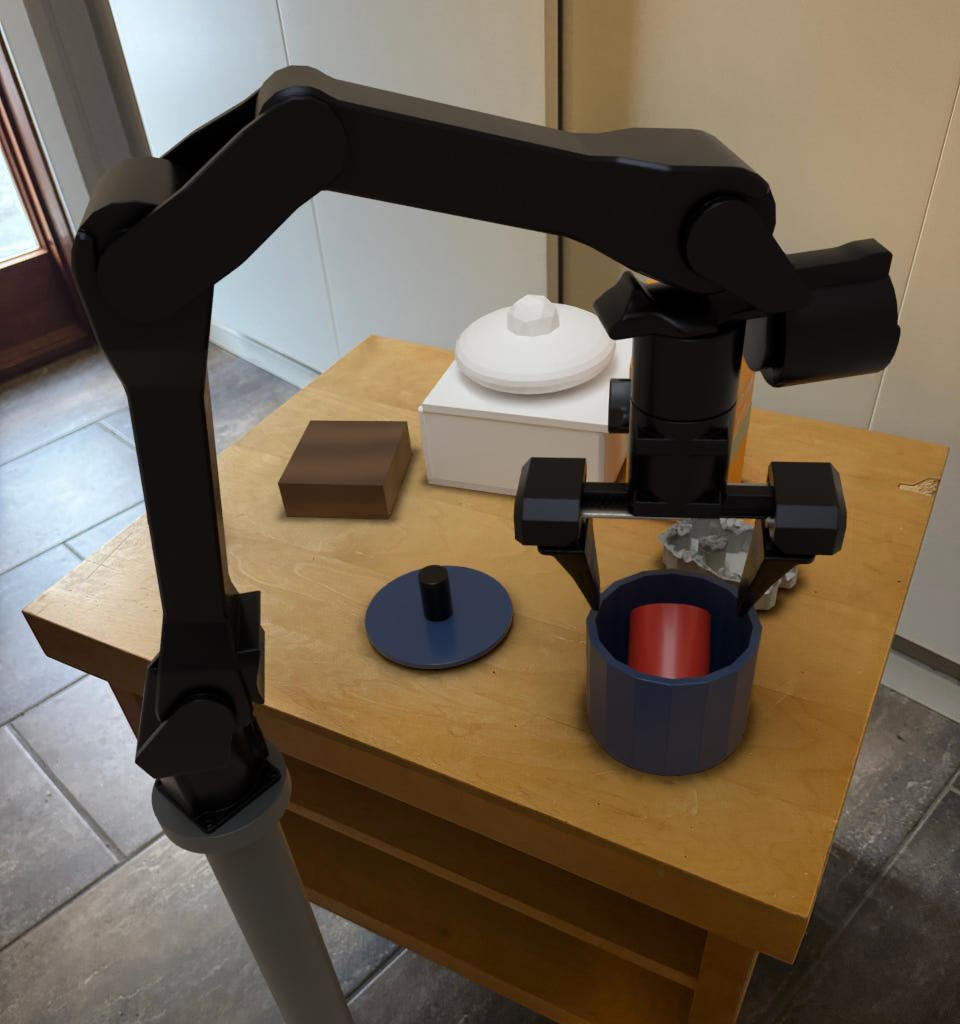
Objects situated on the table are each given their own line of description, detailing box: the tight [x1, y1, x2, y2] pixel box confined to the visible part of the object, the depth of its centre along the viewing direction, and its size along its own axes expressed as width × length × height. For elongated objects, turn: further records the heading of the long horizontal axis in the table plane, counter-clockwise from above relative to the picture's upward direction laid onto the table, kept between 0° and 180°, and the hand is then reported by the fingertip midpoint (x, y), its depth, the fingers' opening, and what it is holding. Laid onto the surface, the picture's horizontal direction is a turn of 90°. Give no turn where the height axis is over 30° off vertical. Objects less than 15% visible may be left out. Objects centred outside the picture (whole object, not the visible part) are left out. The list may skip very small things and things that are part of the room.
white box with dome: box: [417, 293, 632, 497], centre depth 91 cm, size 18×18×16 cm
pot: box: [585, 568, 763, 777], centre depth 67 cm, size 11×11×9 cm
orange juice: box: [625, 278, 756, 523], centre depth 82 cm, size 8×9×20 cm
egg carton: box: [656, 518, 800, 611], centre depth 79 cm, size 11×8×4 cm
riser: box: [277, 419, 413, 520], centre depth 93 cm, size 11×10×4 cm
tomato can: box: [627, 603, 711, 679], centre depth 67 cm, size 6×6×7 cm
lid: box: [364, 564, 514, 670], centre depth 77 cm, size 12×12×5 cm
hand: (667, 609), depth 63 cm, fingers open, 9 cm apart
